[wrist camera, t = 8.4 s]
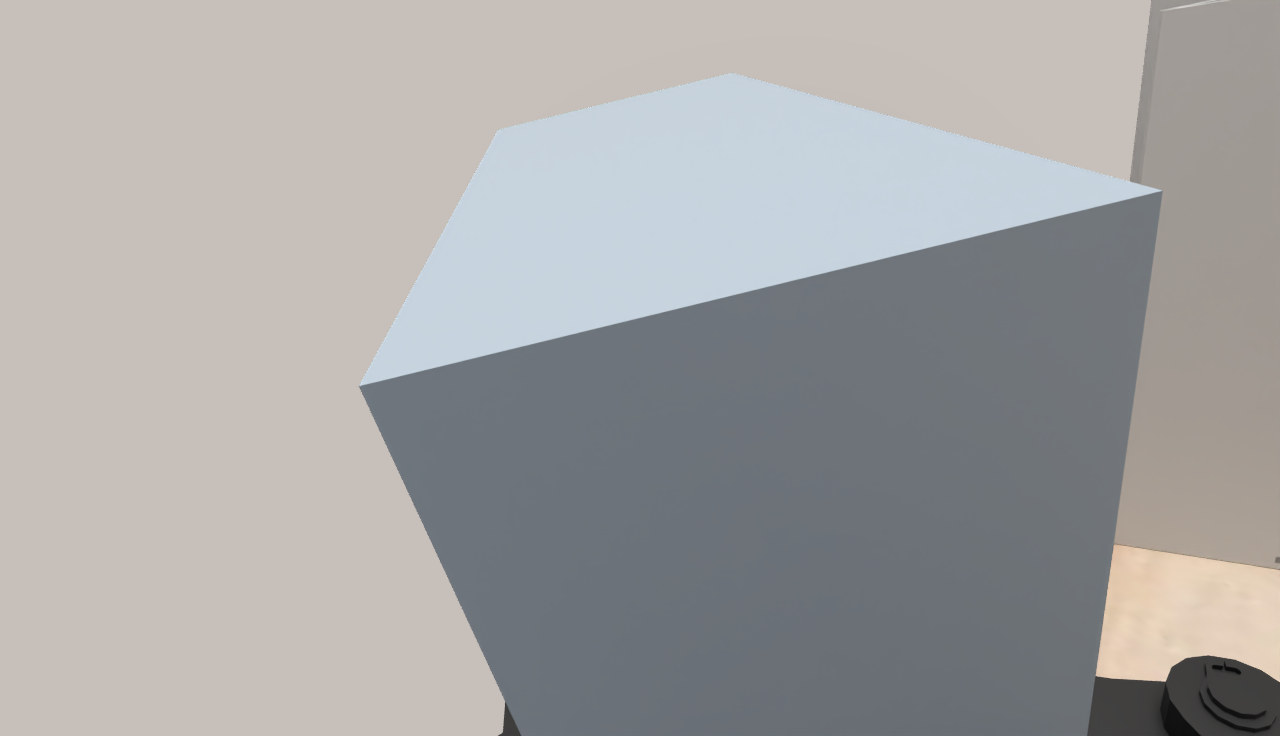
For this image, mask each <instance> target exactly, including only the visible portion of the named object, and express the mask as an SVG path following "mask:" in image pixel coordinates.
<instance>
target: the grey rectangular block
mask: <svg viewBox="0 0 1280 736" xmlns="http://www.w3.org/2000/svg"><path fill="white" fill-rule="evenodd" d="M1162 194H1163V191H1162V190H1159V189H1155V188H1151V187H1148V186H1144V185H1140V184H1137V183H1133V182H1129V181H1126V180H1122V179H1118V178H1115V177H1111V176H1107V175H1104V174H1100V173H1097V172H1093V171H1089V170H1085V169H1082V168H1078V167H1075V166H1071V165H1067V164H1063V163H1060V162H1056V161H1053V160H1049V159H1045V158H1042V157H1038V156H1034V155H1031V154H1027V153H1023V152H1020V151H1016V150H1012V149H1009V148H1005V147H1001V146H998V145H993V144H990V143H987V142H982V141H979V140H976V139H972V138H968V137H965V136H961V135H957V134H954V133H950V132H946V131H942V130H939V129H935V128H932V127H928V126H925V125H920V124H917V123H914V122H910V121H906V120H902V119H899V118H895V117H891V116H888V115H884V114H881V113H876V112H873V111H870V110H866V109H862V108H859V107H854V106H851V105H848V104H844V103H840V102H836V101H833V100H829V99H826V98H822V97H818V96H814V95H811V94H807V93H804V92H800V91H796V90H793V89H789V88H785V87H781V86H778V85H774V84H771V83H767V82H763V81H759V80H756V79H752V78H749V77H745V76H741V75H738V74H734V73H730V74H726V75H721V76H718V77H713V78H709V79H705V80H701V81H697V82H693V83H688V84H684V85H680V86H676V87H672V88H668V89H664V90H660V91H656V92H651V93H647V94H643V95H640V96H635V97H631V98H627V99H623V100H619V101H615V102H610V103H606V104H602V105H598V106H594V107H590V108H586V109H581V110H577V111H573V112H569V113H565V114H561V115H557V116H553V117H548V118H544V119H541V120H536V121H532V122H528V123H524V124H520V125H516V126H511V127H507V128H503V129H499V130H498V131H497V133H496V135H495V137H494V139H493V141H492V142H491V144H490V146H489V148H488V150H487V152H486V153H485V156H484V157H483V159H482V161H481V163H480V164H479V166H478V168H477V170H476V172H475V174H474V176H473V177H472V179H471V181H470V183H469V185H468V187H467V188H466V190H465V192H464V194H463V196H462V198H461V199H460V201H459V203H458V205H457V207H456V209H455V210H454V212H453V214H452V216H451V218H450V220H449V221H448V223H447V225H446V227H445V229H444V231H443V232H442V234H441V236H440V238H439V240H438V242H437V244H436V245H435V247H434V249H433V251H432V253H431V255H430V256H429V258H428V260H427V262H426V264H425V266H424V267H423V270H422V271H421V273H420V275H419V277H418V278H417V280H416V282H415V284H414V286H413V288H412V290H411V291H410V293H409V295H408V297H407V299H406V301H405V303H404V304H403V306H402V308H401V310H400V312H399V314H398V315H397V317H396V319H395V321H394V323H393V324H392V327H391V328H390V330H389V332H388V334H387V336H386V338H385V339H384V341H383V343H382V345H381V347H380V348H379V350H378V352H377V354H376V356H375V358H374V359H373V361H372V363H371V365H370V367H369V369H368V370H367V372H366V374H365V376H364V378H363V380H362V381H361V383H360V385H359V387H360V389H361V392H362V394H363V396H364V398H365V400H366V402H367V405H368V407H369V408H370V411H371V413H372V415H373V417H374V420H375V422H376V424H377V426H378V428H379V430H380V432H381V435H382V437H383V439H384V441H385V443H386V445H387V448H388V450H389V452H390V454H391V456H392V458H393V461H394V462H395V465H396V467H397V469H398V471H399V473H400V476H401V478H402V480H403V482H404V484H405V486H406V489H407V491H408V493H409V495H410V497H411V499H412V501H413V503H414V506H415V508H416V510H417V512H418V514H419V517H420V519H421V521H422V523H423V525H424V527H425V529H426V531H427V534H428V536H429V538H430V540H431V542H432V544H433V547H434V549H435V551H436V553H437V555H438V557H439V560H440V562H441V564H442V566H443V568H444V570H445V572H446V575H447V577H448V579H449V581H450V583H451V585H452V588H453V590H454V592H455V594H456V596H457V598H458V601H459V603H460V605H461V607H462V609H463V611H464V613H465V616H466V618H467V620H468V622H469V624H470V626H471V629H472V631H473V633H474V635H475V637H476V639H477V641H478V643H479V646H480V648H481V650H482V652H483V654H484V657H485V659H486V661H487V663H488V665H489V667H490V669H491V671H492V674H493V676H494V678H495V680H496V682H497V684H498V687H499V689H500V691H501V693H502V695H503V697H504V700H505V702H506V704H507V706H508V708H509V710H510V713H511V715H512V717H513V719H514V721H515V723H516V725H517V728H518V730H519V732H520V734H521V736H1087V733H1088V726H1089V718H1090V711H1091V704H1092V697H1093V690H1094V682H1095V675H1096V668H1097V661H1098V654H1099V647H1100V639H1101V632H1102V625H1103V618H1104V611H1105V603H1106V596H1107V589H1108V582H1109V575H1110V567H1111V560H1112V553H1113V546H1114V539H1115V531H1116V524H1117V517H1118V510H1119V503H1120V496H1121V488H1122V481H1123V474H1124V467H1125V460H1126V452H1127V445H1128V438H1129V431H1130V424H1131V416H1132V409H1133V402H1134V395H1135V388H1136V380H1137V373H1138V366H1139V359H1140V352H1141V345H1142V337H1143V330H1144V323H1145V316H1146V309H1147V301H1148V294H1149V287H1150V280H1151V273H1152V265H1153V258H1154V251H1155V244H1156V237H1157V229H1158V222H1159V215H1160V208H1161V201H1162Z"/></svg>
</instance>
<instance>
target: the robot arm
mask: <svg viewBox="0 0 1280 736" xmlns="http://www.w3.org/2000/svg"><path fill="white" fill-rule="evenodd" d="M499 736H521V734H520V732H519V730H518V728H517V725H516V723H515V721H514V719H513V717H512V715H511V713H510V710H509V708H508V706H507V704H506V702H505V714H504V726H503V733H502V734H500V735H499ZM1087 736H1280V682H1278V681H1277V680H1275V679H1274V678H1272V677H1271V676H1269V675H1268V674H1266V673H1265V672H1263V671H1262V670H1259V669H1257V668H1254V667H1252V666H1249V665H1247V664H1244V663H1241V662H1239V661H1236V660H1233V659H1227V658H1221V657H1215V656H1209V655H1208V656H1200V657H1191V658H1186V659H1184V660H1183V661H1181V662H1179V663H1178V664H1176V665H1174V666H1173V667H1172V668H1171V670H1170V673H1169V675H1168V678H1167V680H1166V682H1161V681H1143V680H1126V679H1111V678H1104V677H1097V676H1095V682H1094V690H1093V697H1092V704H1091V711H1090V718H1089V726H1088V733H1087Z"/></svg>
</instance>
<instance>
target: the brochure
mask: <svg viewBox="0 0 1280 736" xmlns="http://www.w3.org/2000/svg"><path fill="white" fill-rule="evenodd" d="M1130 182H1133V183H1137V184H1140V185H1144V186H1148V187H1151V188H1155V189H1159V190H1162V191H1163V194H1162V201H1161V208H1160V215H1159V222H1158V229H1157V237H1156V244H1155V251H1154V258H1153V265H1152V273H1151V280H1150V287H1149V294H1148V301H1147V309H1146V316H1145V323H1144V330H1143V337H1142V345H1141V352H1140V359H1139V366H1138V373H1137V380H1136V388H1135V395H1134V402H1133V409H1132V416H1131V424H1130V431H1129V438H1128V445H1127V452H1126V460H1125V467H1124V474H1123V481H1122V488H1121V496H1120V503H1119V510H1118V517H1117V524H1116V531H1115V539H1114V544H1119V545H1125V546H1132V547H1138V548H1145V549H1151V550H1158V551H1164V552H1171V553H1177V554H1183V555H1190V556H1196V557H1203V558H1209V559H1216V560H1222V561H1229V562H1235V563H1242V564H1248V565H1255V566H1261V567H1267V568H1274V569H1280V0H1151V9H1150V18H1149V25H1148V34H1147V42H1146V50H1145V59H1144V67H1143V76H1142V84H1141V93H1140V101H1139V109H1138V118H1137V126H1136V134H1135V142H1134V151H1133V160H1132V167H1131V177H1130Z"/></svg>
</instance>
